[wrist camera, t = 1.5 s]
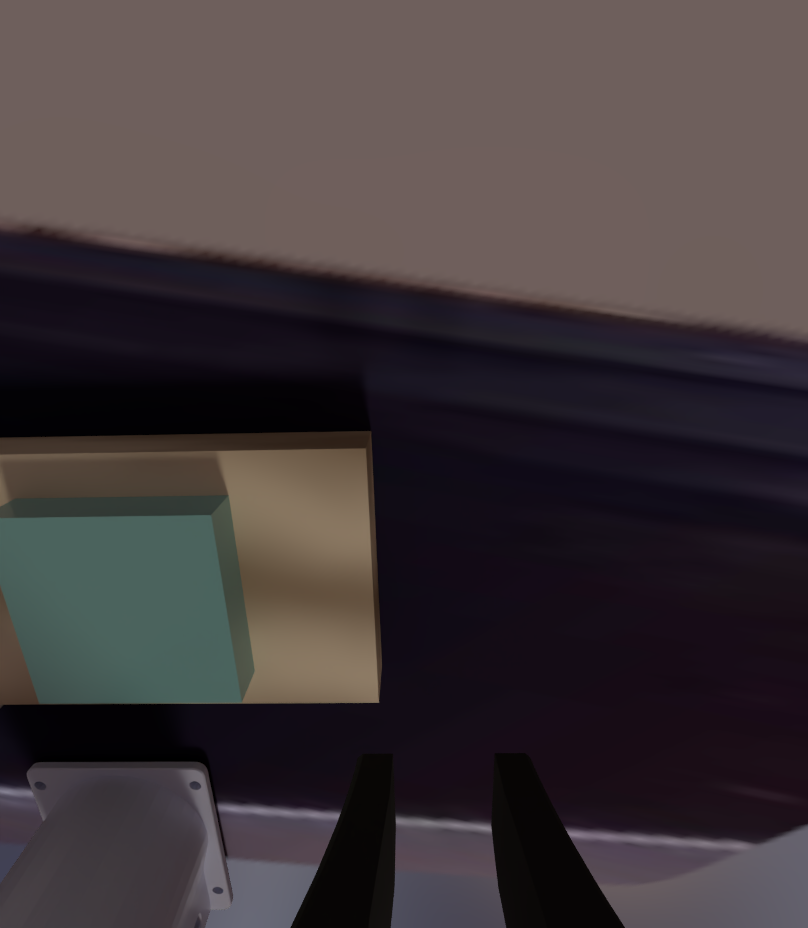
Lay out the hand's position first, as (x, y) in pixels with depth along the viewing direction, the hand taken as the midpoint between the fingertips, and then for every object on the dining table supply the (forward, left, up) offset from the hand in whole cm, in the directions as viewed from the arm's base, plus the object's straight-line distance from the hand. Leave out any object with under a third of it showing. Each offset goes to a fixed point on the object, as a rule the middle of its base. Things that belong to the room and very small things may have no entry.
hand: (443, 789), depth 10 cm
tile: (0, +10, -7) cm, 12 cm away
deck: (0, +10, -9) cm, 14 cm away
